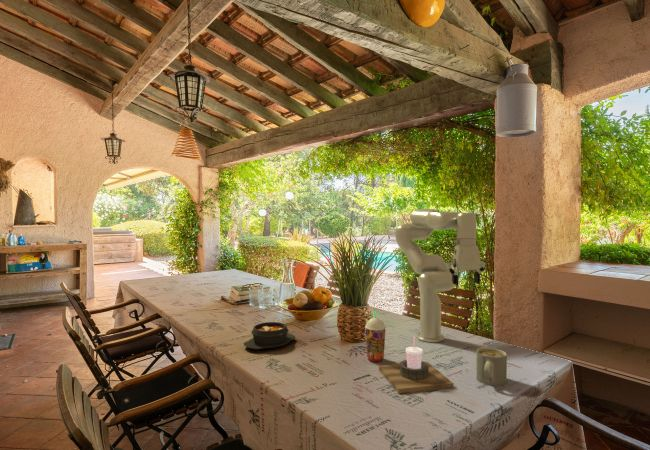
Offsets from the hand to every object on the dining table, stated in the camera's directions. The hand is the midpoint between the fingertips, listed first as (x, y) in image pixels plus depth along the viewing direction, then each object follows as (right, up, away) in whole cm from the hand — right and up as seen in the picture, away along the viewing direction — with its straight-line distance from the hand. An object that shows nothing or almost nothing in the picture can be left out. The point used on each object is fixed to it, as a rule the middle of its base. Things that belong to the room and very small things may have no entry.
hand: (466, 283), depth 164 cm
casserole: (-84, -31, +17) cm, 91 cm away
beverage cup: (-26, -30, -20) cm, 45 cm away
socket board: (-26, -31, -20) cm, 46 cm away
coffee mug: (0, -31, -23) cm, 39 cm away
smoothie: (-38, -31, -2) cm, 49 cm away
